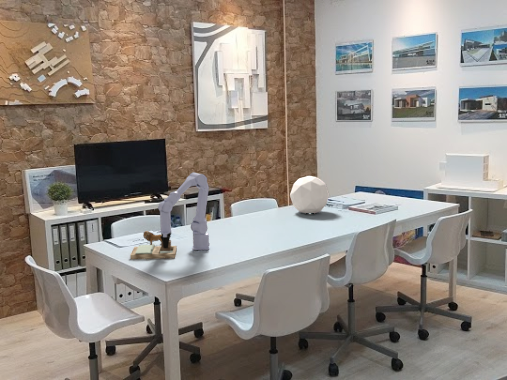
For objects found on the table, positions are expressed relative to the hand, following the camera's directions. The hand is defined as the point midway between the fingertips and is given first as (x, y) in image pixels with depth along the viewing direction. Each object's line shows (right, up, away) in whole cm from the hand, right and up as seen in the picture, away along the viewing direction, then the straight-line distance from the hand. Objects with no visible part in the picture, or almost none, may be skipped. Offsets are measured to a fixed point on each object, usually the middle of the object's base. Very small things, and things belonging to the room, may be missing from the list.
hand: (166, 246), depth 314 cm
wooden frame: (-7, -4, 0) cm, 8 cm away
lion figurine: (-10, -2, +20) cm, 22 cm away
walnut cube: (0, -2, 0) cm, 2 cm away
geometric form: (+91, +14, +114) cm, 147 cm away
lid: (-11, -2, -1) cm, 12 cm away
